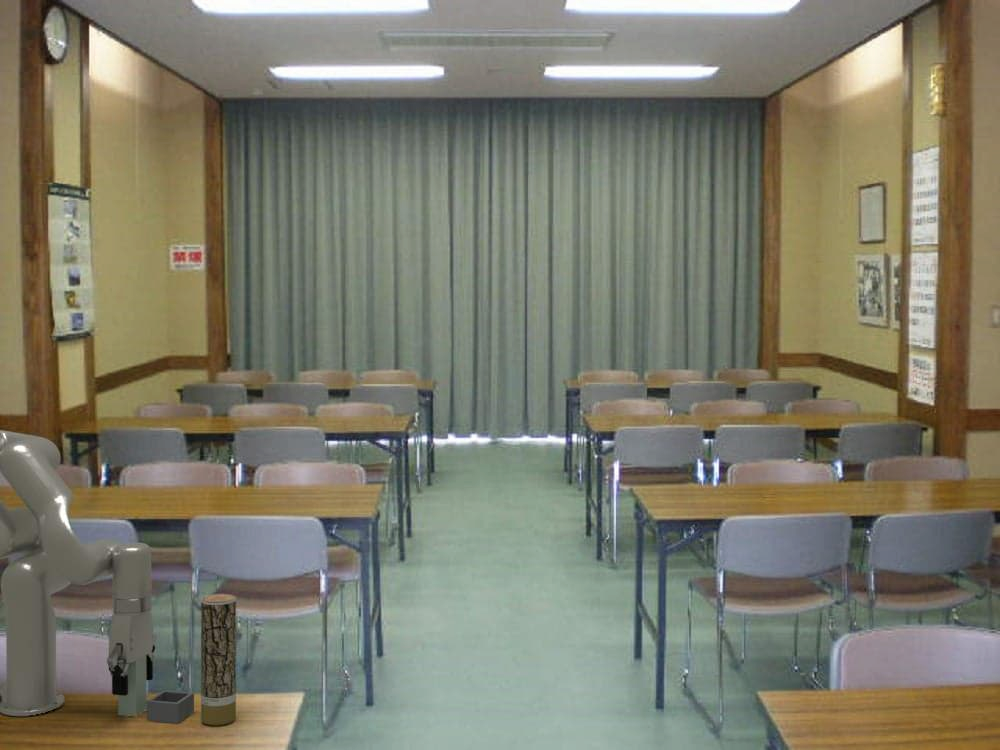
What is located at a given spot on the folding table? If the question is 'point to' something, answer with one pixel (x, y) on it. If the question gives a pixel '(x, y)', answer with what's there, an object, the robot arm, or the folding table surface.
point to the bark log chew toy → (218, 659)
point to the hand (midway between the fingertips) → (132, 686)
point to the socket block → (170, 706)
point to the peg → (134, 689)
